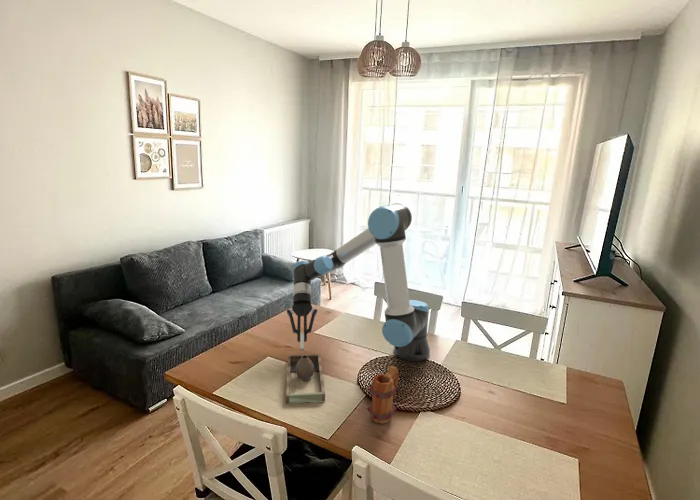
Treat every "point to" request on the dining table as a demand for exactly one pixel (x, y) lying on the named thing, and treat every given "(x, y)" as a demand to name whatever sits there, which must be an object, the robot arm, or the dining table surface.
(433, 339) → the dining table surface
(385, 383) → the mug
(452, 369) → the dining table surface
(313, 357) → the box
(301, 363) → the vase
